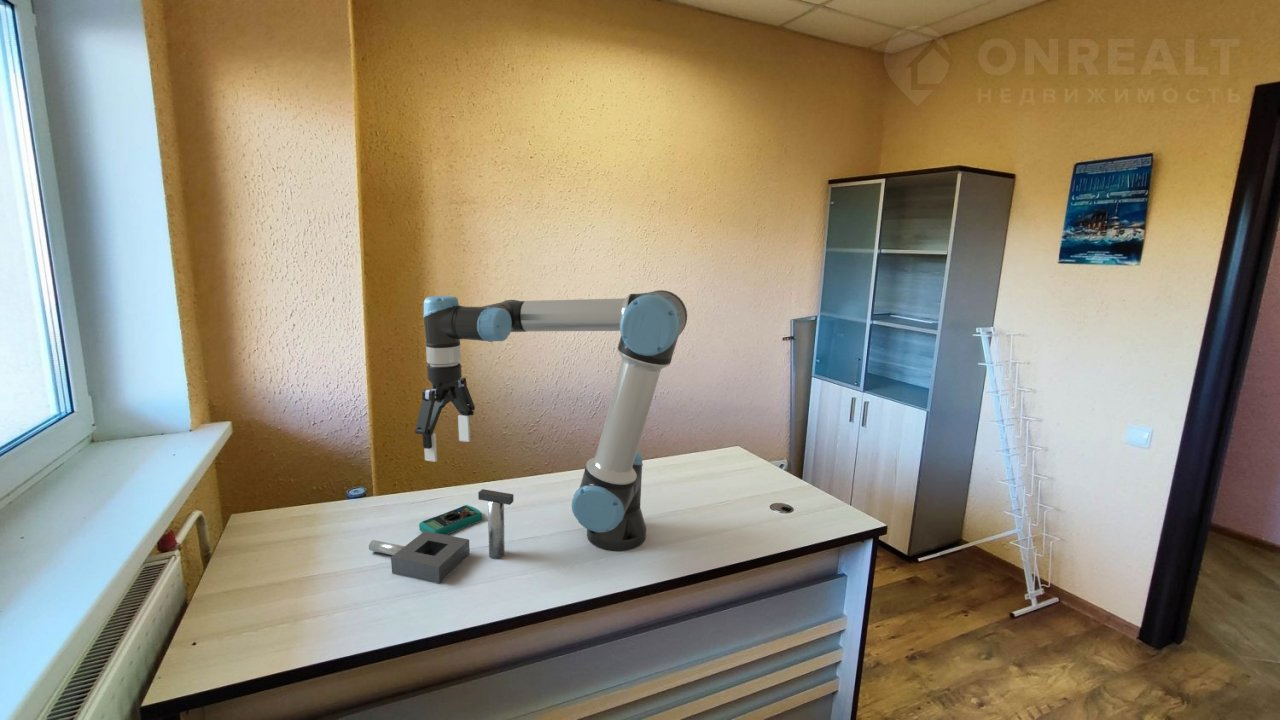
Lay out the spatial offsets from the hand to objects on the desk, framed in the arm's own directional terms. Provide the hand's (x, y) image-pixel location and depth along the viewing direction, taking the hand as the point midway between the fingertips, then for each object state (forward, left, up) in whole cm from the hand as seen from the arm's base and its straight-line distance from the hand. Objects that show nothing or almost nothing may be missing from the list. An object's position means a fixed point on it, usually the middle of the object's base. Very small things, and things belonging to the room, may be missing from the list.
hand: (448, 450), depth 136 cm
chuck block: (+3, +11, -23) cm, 26 cm away
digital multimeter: (+4, -6, -24) cm, 25 cm away
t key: (-14, +3, -23) cm, 27 cm away
